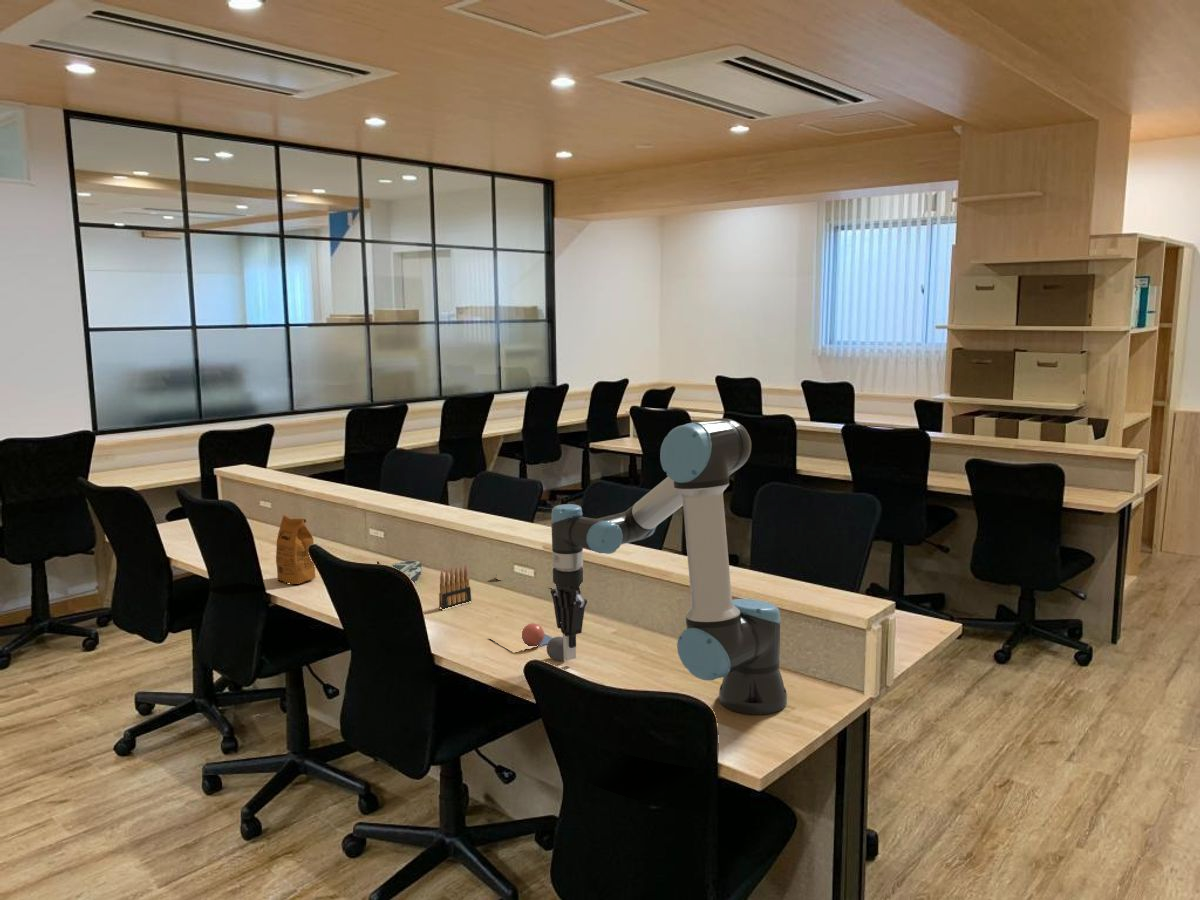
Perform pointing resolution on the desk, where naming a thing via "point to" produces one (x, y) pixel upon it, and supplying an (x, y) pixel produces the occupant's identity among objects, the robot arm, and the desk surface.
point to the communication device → (409, 568)
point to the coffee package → (294, 552)
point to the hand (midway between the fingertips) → (569, 658)
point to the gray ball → (556, 648)
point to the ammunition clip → (454, 588)
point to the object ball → (532, 634)
